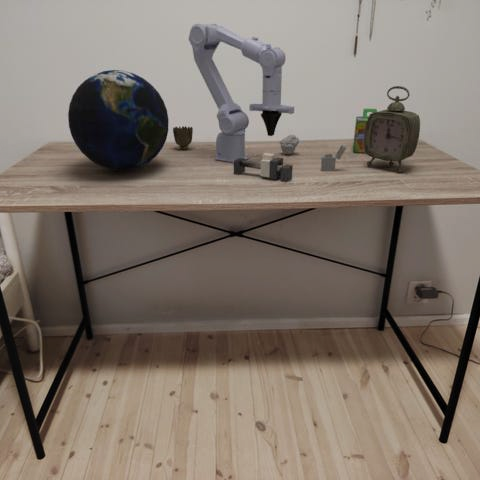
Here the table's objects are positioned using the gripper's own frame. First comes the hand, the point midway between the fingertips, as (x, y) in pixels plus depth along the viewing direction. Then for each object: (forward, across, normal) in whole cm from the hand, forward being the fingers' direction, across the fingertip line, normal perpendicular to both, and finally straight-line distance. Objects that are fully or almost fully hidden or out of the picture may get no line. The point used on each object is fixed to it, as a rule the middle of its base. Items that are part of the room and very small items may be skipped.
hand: (270, 135), depth 141 cm
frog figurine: (+10, 0, +16) cm, 19 cm away
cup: (+10, -38, +5) cm, 40 cm away
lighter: (+10, +20, +4) cm, 23 cm away
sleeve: (+10, +5, -12) cm, 16 cm away
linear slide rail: (+10, +3, -12) cm, 16 cm away
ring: (+10, +8, -12) cm, 17 cm away
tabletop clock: (+10, +35, +15) cm, 39 cm away
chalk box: (+10, +23, +34) cm, 42 cm away
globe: (+10, -40, -25) cm, 48 cm away
